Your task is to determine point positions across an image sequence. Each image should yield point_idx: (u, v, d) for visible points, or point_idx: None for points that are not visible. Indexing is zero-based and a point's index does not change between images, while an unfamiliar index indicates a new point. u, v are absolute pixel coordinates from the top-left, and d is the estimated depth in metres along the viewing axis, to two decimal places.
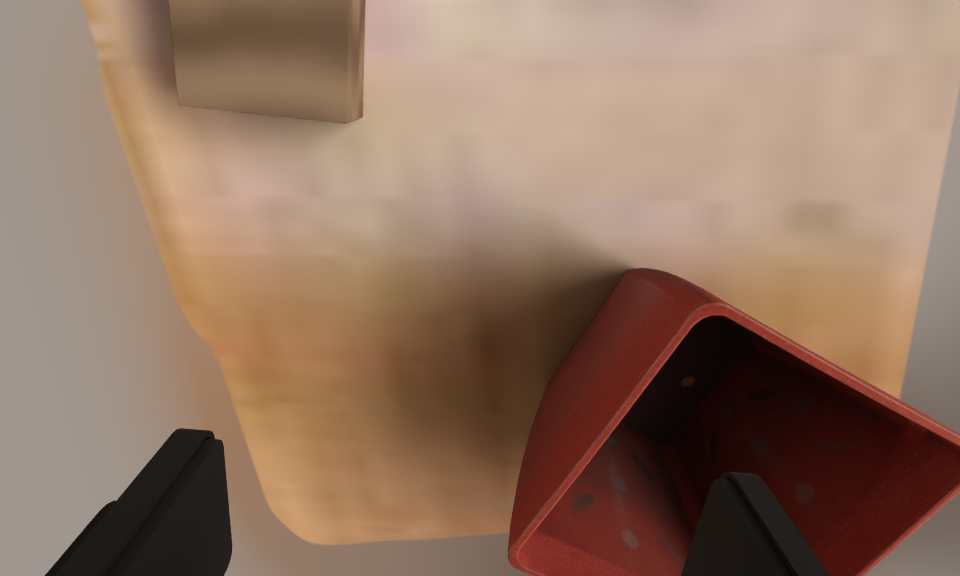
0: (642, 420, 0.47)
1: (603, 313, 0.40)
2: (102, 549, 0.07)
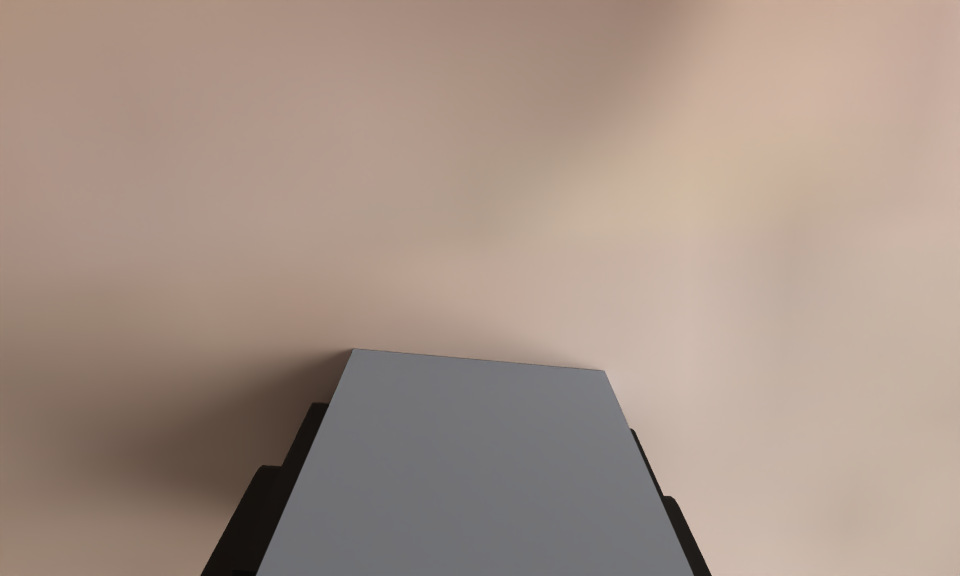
0: None
1: None
2: (288, 498, 0.08)
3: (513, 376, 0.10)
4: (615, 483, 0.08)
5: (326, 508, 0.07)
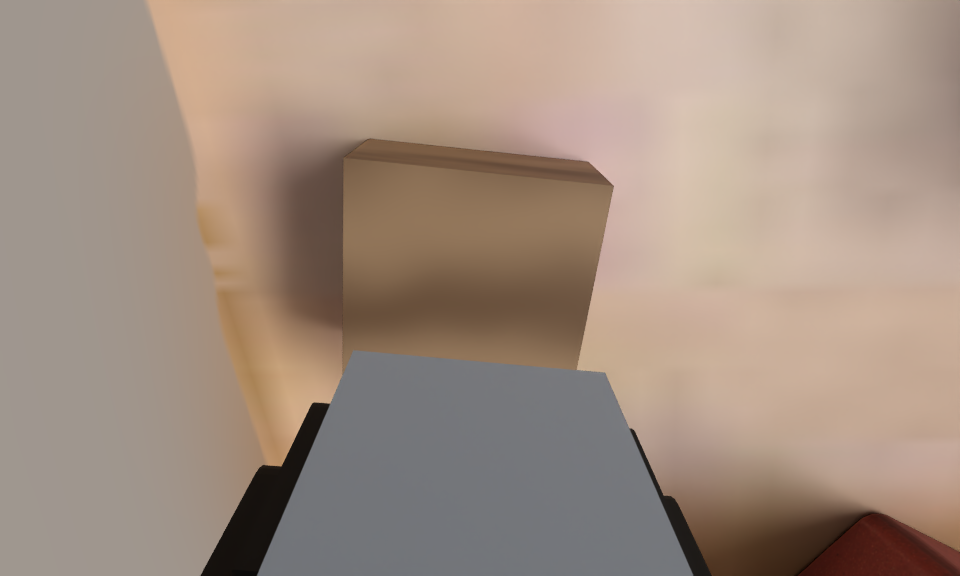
0: None
1: None
2: (288, 498, 0.08)
3: (513, 378, 0.10)
4: (616, 486, 0.08)
5: (326, 512, 0.07)
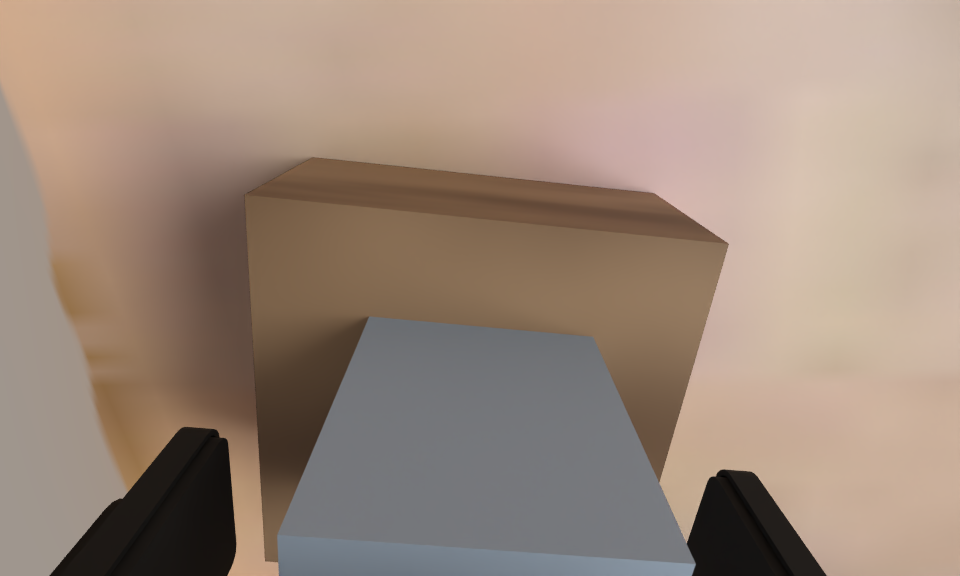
0: None
1: None
2: (109, 546, 0.07)
3: (511, 340, 0.12)
4: (598, 421, 0.09)
5: (353, 436, 0.08)
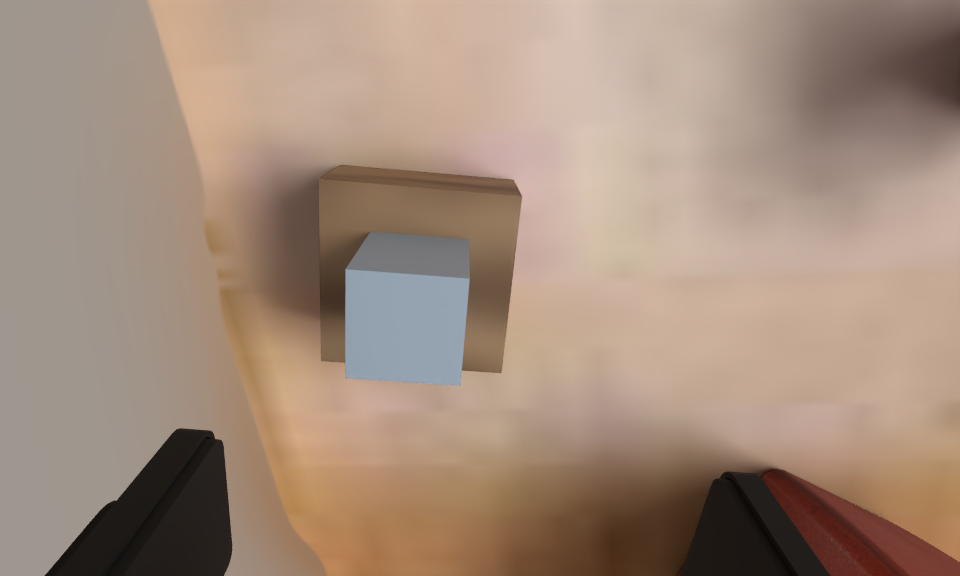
0: None
1: None
2: (102, 549, 0.07)
3: (431, 239, 0.27)
4: (456, 257, 0.24)
5: (366, 256, 0.23)
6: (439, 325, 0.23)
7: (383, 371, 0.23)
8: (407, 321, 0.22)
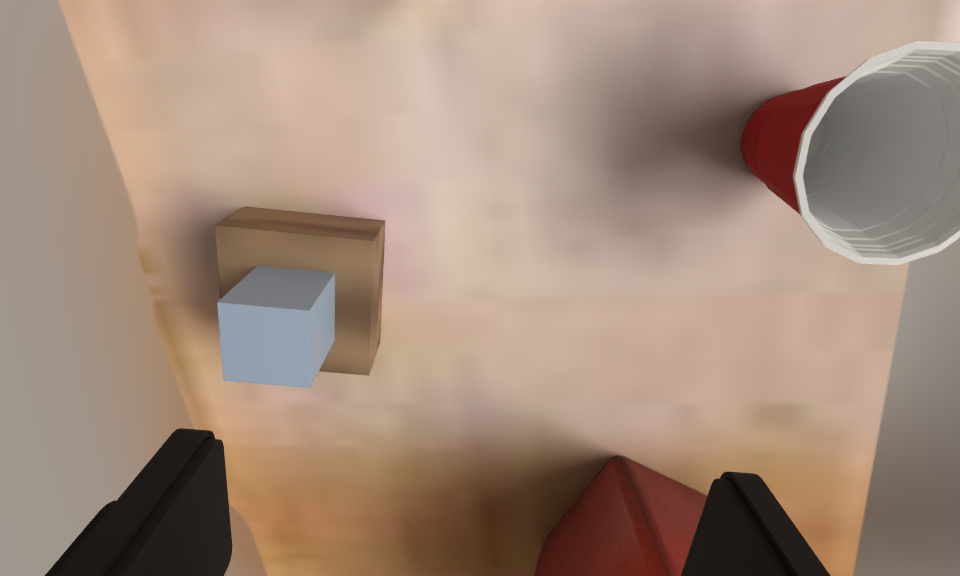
0: None
1: (590, 501, 0.46)
2: (102, 549, 0.07)
3: (303, 272, 0.35)
4: (312, 290, 0.32)
5: (240, 290, 0.31)
6: (290, 343, 0.31)
7: (251, 376, 0.31)
8: (266, 340, 0.30)
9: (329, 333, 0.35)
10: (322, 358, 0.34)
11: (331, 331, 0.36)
